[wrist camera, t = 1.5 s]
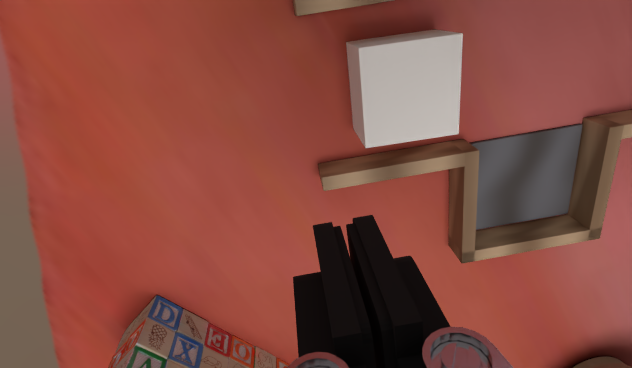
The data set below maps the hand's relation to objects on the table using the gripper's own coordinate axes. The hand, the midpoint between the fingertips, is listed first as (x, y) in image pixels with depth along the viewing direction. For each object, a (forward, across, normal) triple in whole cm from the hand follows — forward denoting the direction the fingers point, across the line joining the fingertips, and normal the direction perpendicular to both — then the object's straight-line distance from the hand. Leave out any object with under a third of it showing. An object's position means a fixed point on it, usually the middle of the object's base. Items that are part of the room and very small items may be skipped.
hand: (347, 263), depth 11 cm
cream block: (+22, -8, 0) cm, 23 cm away
